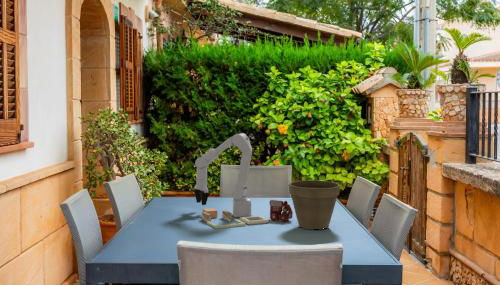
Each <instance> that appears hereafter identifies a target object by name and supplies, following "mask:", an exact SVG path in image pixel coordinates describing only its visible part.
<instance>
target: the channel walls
mask: <svg viewBox="0 0 500 285" xmlns="http://www.w3.org/2000/svg"><path fill="white" fill-rule="evenodd" d="M232 213H233V212H230V211H227V210H225V209H224V210H223V209H222V214H221V215H222V219H224V220H226V221H228V222H230V221H232V217H233V216H232ZM201 221H204V222H205V223H207V222H208V221H209V222H211V223H212V218H211V215H210V214H208V213H206V212H203V211H201Z"/></svg>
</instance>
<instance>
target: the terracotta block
mask: <svg viewBox="0 0 500 285" xmlns="http://www.w3.org/2000/svg"><path fill="white" fill-rule="evenodd" d="M202 212H206V213H208V214H210V215H211V219H217V218H218V210H217V209H215V208H213V207H212V208H203V209H202Z"/></svg>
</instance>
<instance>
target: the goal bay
mask: <svg viewBox="0 0 500 285" xmlns="http://www.w3.org/2000/svg"><path fill="white" fill-rule="evenodd" d="M233 222H234V223H230V224H229V223H228V224H220V225H217V224H215V223H213V222H212V221H211V222H209V221H208V222H206V225H208V226H210V227H211V228H214V229H216V230H217V229H225V228H227V229H228V228H235V227H236V228H237V227H245V226H246V225H247V224H246V223H244V222H241V221H240V219H237V218H234V219H233Z"/></svg>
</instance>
